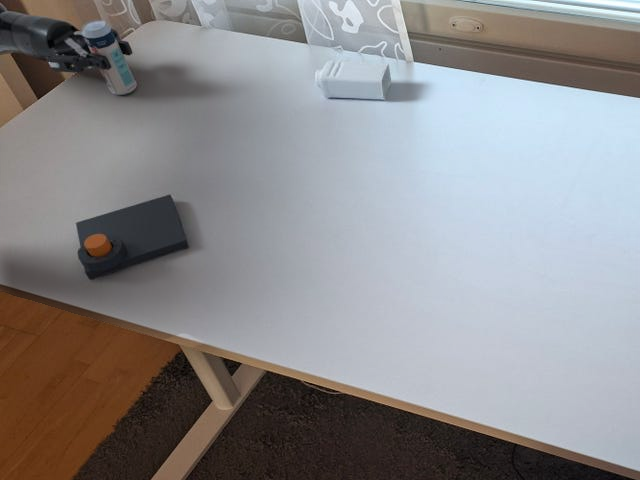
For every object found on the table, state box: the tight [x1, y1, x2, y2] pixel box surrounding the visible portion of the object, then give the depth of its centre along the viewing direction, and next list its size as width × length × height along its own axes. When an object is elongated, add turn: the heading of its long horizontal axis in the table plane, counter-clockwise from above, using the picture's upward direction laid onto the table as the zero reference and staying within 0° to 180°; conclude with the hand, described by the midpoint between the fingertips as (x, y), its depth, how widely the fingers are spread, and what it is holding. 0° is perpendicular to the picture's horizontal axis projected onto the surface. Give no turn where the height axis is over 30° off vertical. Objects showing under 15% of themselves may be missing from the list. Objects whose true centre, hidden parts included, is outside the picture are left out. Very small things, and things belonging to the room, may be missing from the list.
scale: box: [75, 194, 190, 280], centre depth 99 cm, size 14×13×3 cm
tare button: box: [84, 234, 112, 257], centre depth 94 cm, size 3×3×2 cm
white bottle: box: [314, 59, 392, 101], centre depth 122 cm, size 6×13×4 cm, turn 82°
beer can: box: [81, 19, 138, 96], centre depth 122 cm, size 5×5×12 cm
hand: (118, 56), depth 120 cm, fingers closed on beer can, 4 cm apart
